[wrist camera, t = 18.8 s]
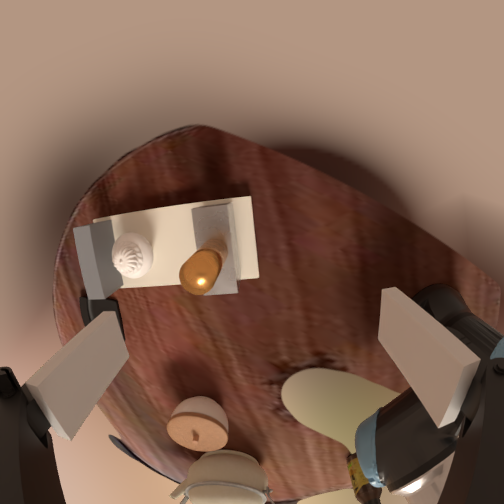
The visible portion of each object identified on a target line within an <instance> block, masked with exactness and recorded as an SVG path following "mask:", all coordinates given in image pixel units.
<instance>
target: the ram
mask: <svg viewBox="0 0 504 504" xmlns="http://www.w3.org/2000/svg"><path fill="white" fill-rule="evenodd" d="M191 212H192V220H193V228H194V235H195V242H196V249H197V251H196V252H195V253H194V254H193V255H192V256H191V257H190V258H189V259H188V260H187V261H186V262H185V263H184V264H183V265H182V266H181V268H180V271H179V279H180V283H181V285H182V286H183V287H184V289H186V290H187V291H188V292H190V293H192V294H196V295H201V294H204V295H217V294H230V293H238V290H239V285H240V280H241V270H240V262H239V254H238V245H237V237H236V228H235V219H234V210H233V202H229V203H221V204H213V205H205V206H200V207H196V208H193V209H191Z"/></svg>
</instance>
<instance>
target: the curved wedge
mask: <svg viewBox="0 0 504 504" xmlns="http://www.w3.org/2000/svg"><path fill="white" fill-rule="evenodd" d="M80 309H81V314H82V318H83V322H84V325H85V327H86V326H87V325H88V324H89V323H90V322H92V321H93V320H94V319H95V318H96V317H97V316H99V315H100V314H101V313H102V312H103V311H115V313H116V316H117V320H118V323H119V326H120V330H121V333H122V336H123V339H124V342H125V335H124V329H123V323H122V318H121V313H120V309H119V304H118V301H116V300H113V299H108V298H106V299H93V300H89V299H88V297H84V296H83V297H80Z"/></svg>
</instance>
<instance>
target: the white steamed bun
mask: <svg viewBox="0 0 504 504" xmlns="http://www.w3.org/2000/svg"><path fill="white" fill-rule="evenodd" d="M153 255H154V254H153V249H152V246H150V243H149V241H148V240H146V238H145V237H143V236H142V235H139V234H137V233H133V232H129V233H125V234H123V235H121V236H120V237H119V238H118V239H117V240H116V241H115V243H114V245H113V248H112V262H113V263H114V267H116V269H117V270H118V271H119V272H120V273H121V274H122V275H124V276H126V277H128V278H133V279H135V278H140V277H142V276H144V275H145V274H146V273H147V272H148V271H149V270H150V269H151V267H152V264H153V258H154V257H153Z"/></svg>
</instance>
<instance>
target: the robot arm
mask: <svg viewBox="0 0 504 504" xmlns="http://www.w3.org/2000/svg"><path fill="white" fill-rule="evenodd" d="M378 340H379V341H380V343H381V344H382V346H383V347H384V348H385V350H386V351H387V353H388V354H389V355H390V357H391V358H392V360H393V361H394V363H395V364H396V365H397V367H398V368H399V370H400V371H401V373H402V374H403V375H404V377H405V378H406V380H407V381H408V383H409V384H410V386H411V387H409V388H408V389H407V390H406V391H404V392H403V393H402V394H400V395H399V396H398V397H396V398H395V399H394V400H392V401H391V402H390V403H388V404H387V405H386V406H384V407H381V408H379V409H378V410H377V411H376V413H374V414H373V415H371V416H370V417H369V418H367V419H366V420H364V421H363V422H362V423H361V424H360V425H359V426H358V428H357V431H356V435H355V448H356V453H357V458H358V461H359V464H360V467H361V469H362V472H363V474H364V475H365V477H366V478H368V480H369V483H370V484H371V485H372V486H374V487H384V486H387V488H388V490H389V492H390V493H391V494H394V495H401V496H404V497H405V498H406V500H407V502H408V504H504V335H502V334H501V333H500V332H498V331H497V330H496V329H494V328H493V327H491V326H490V325H488V324H487V323H486V322H484V321H483V320H481V319H480V318H478V317H477V316H475V315H474V314H473V313H472V312H471V311H470V309H469V308H468V306H467V305H466V303H465V302H464V299H463V298H462V296H461V294H460V293H459V292H458V291H456V290H455V289H453V288H452V287H450V286H448V285H445V284H435V285H431V286H429V287H427V288H425V289H423V290H422V291H420V292H419V293H418V294H417V295H415V296H414V297H413V298H412V300H411V299H410V298H409V297H408V296H406V295H405V294H404V293H403V292H401V291H400V290H399V289H398V288H396V287H392V288H386V289H382V296H381V310H380V322H379V332H378ZM128 358H129V354H128V351H127V348H126V345H125V342H124V339H123V336H122V333H121V330H120V326H119V323H118V320H117V316H116V313H115V311H103V312H102V313H101V314H100V315H99V316H97V317H96V318H95V319H94V320H93V321H92V322H90V323H89V324H88V325H87V326H86V327H85V328H84V329H82V330H81V331H80V332H79V333H78V334H77V335H76V336H75V337H73V338H72V339H71V340H70V341H69V342H68V343H67V344H66V345H65V346H64V347H62V348H61V349H60V350H59V351H58V352H57V353H56V354H55V355H54V356H53V357H52V358H51V359H50V360H48V362H46V363H45V364H44V365H43V366H42V367H41V368H40V369H39V370H38V371H37V372H36V373H35V374H34V375H33V376H32V377H30V378H29V379H28V380H27V381H26V382H25V384H24V385H23V386H22V387H20V385H19V383H18V381H17V379H16V377H15V375H14V373H13V371H12V369H11V368H9V367H0V504H66V502H65V499H64V495H63V491H62V488H61V484H60V479H59V475H58V470H57V466H56V460H55V455H54V449H53V443H52V437H51V434H50V433H49V431H48V429H49V428H50V427H51V426H52V428H53V429H54V430H55V432H56V434H57V435H58V436H59V437H62V438H65V439H68V440H70V441H71V440H72V439H73V438H74V436H75V435H76V433H77V432H78V430H79V429H80V427H81V426H82V424H83V423H84V421H85V419H86V418H87V417H88V415H89V414H90V412H91V410H92V409H93V408H94V406H95V405H96V403H97V402H98V400H99V399H100V397H101V396H102V395H103V393H104V392H105V390H106V389H107V387H108V386H109V385H110V383H111V382H112V380H113V379H114V377H115V376H116V375H117V373H118V372H119V370H120V369H121V368H122V366H123V365H124V363H125V362H126V361H127V359H128ZM458 436H459V438H458Z"/></svg>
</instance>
